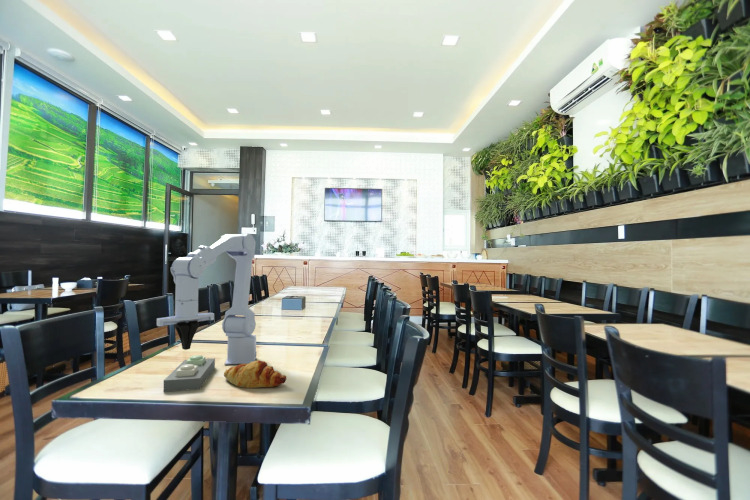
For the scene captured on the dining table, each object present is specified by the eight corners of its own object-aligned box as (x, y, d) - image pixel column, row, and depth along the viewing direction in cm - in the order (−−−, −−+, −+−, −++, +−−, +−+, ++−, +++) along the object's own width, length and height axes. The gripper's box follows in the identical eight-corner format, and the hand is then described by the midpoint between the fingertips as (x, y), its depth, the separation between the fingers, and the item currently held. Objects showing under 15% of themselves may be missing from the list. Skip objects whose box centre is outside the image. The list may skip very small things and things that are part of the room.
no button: (197, 375, 106) (197, 363, 106) (193, 380, 102) (193, 367, 102) (180, 376, 105) (181, 364, 105) (176, 381, 101) (176, 368, 101)
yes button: (205, 365, 116) (205, 354, 116) (202, 370, 111) (202, 358, 112) (190, 366, 115) (190, 355, 115) (186, 370, 110) (186, 358, 111)
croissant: (217, 394, 105) (207, 373, 102) (238, 368, 114) (229, 348, 111) (280, 402, 99) (272, 380, 95) (297, 374, 107) (290, 353, 104)
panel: (214, 367, 119) (214, 358, 119) (199, 389, 99) (200, 378, 100) (184, 369, 117) (184, 359, 117) (163, 391, 97) (163, 380, 97)
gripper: (207, 296, 110) (206, 342, 110) (153, 300, 100) (152, 350, 99) (217, 298, 105) (216, 346, 105) (161, 303, 95) (160, 355, 95)
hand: (186, 348), depth 102 cm, fingers closed
